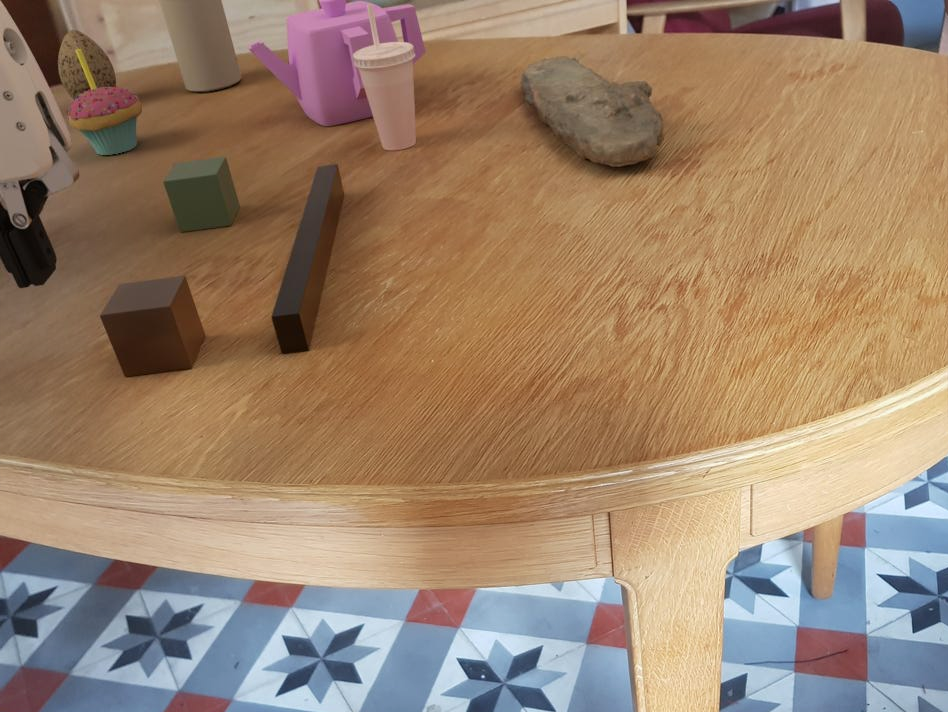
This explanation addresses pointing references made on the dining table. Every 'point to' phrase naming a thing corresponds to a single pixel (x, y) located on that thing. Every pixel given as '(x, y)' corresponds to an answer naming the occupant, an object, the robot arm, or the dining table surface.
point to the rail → (308, 262)
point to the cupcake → (105, 115)
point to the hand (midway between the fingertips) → (38, 278)
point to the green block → (202, 194)
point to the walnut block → (153, 326)
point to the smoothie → (389, 88)
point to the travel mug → (202, 44)
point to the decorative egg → (73, 70)
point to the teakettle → (335, 56)
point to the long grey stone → (594, 111)
